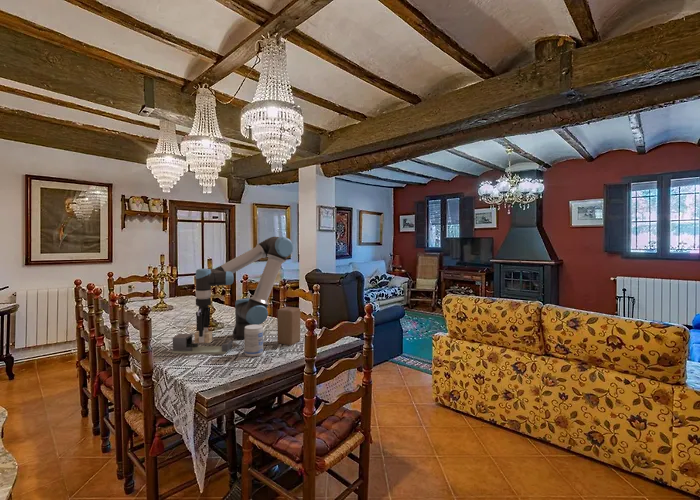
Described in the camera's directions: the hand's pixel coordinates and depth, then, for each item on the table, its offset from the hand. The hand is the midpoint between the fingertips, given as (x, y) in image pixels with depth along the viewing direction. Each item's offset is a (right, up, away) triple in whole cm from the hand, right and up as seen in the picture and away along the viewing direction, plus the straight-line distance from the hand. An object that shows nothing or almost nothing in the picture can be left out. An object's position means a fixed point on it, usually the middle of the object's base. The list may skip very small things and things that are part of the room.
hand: (203, 340), depth 193 cm
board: (-1, -6, 0) cm, 6 cm away
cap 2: (+13, -5, 0) cm, 13 cm away
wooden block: (+43, -5, +16) cm, 46 cm away
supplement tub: (+28, -6, -4) cm, 29 cm away
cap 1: (-10, -4, 0) cm, 11 cm away
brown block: (0, -1, 0) cm, 1 cm away
